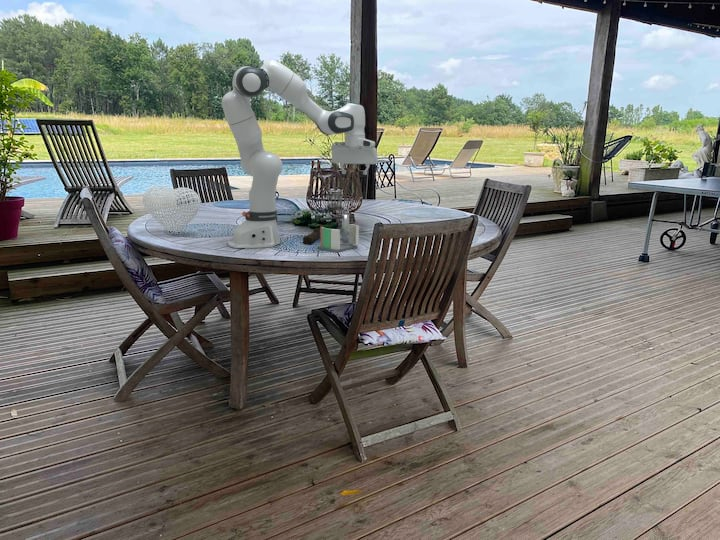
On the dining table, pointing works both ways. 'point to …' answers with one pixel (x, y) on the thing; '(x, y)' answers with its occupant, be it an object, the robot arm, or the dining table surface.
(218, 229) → the dining table surface
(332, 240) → the base
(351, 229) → the gauge lever
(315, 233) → the hand tool
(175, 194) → the heart
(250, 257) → the dining table surface
